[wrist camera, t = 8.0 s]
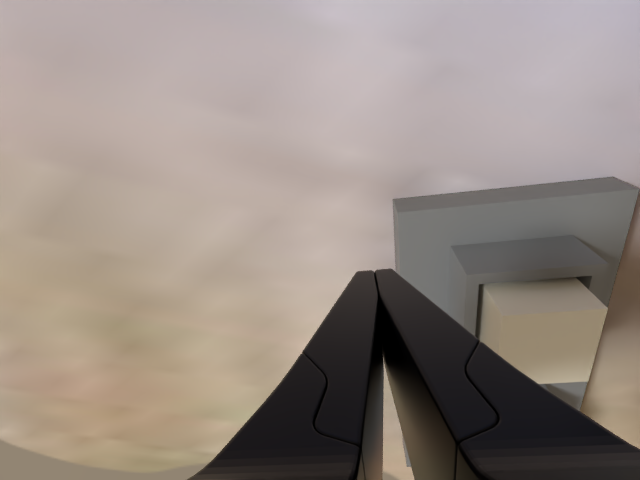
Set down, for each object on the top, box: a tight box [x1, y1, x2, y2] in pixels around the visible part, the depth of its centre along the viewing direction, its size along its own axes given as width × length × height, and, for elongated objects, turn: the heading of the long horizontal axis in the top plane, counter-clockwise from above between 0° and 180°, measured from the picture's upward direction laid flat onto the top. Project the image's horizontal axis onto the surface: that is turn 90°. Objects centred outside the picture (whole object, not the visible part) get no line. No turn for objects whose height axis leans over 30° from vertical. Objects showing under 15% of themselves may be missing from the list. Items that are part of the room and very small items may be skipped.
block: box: [393, 177, 639, 467], centre depth 24 cm, size 12×22×5 cm, turn 7°
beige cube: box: [475, 277, 608, 384], centre depth 19 cm, size 4×4×4 cm
